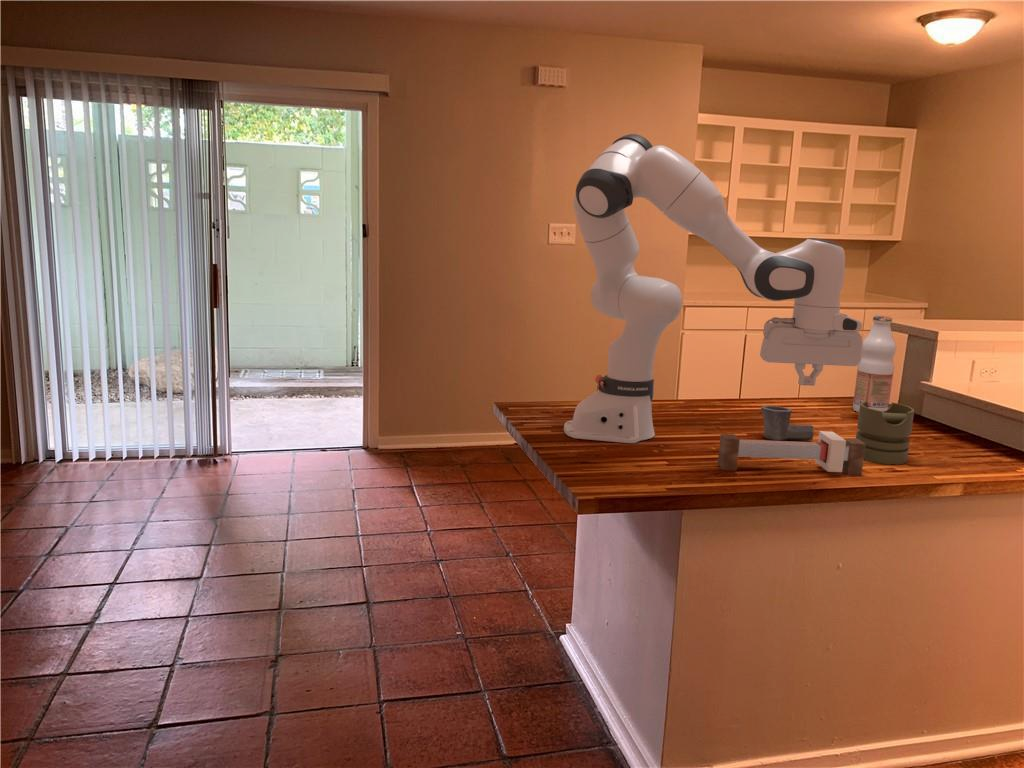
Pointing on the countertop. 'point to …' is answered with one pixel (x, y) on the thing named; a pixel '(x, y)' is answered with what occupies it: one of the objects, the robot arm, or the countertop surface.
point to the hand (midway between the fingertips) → (806, 384)
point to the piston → (885, 433)
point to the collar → (832, 451)
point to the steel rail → (786, 449)
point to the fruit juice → (876, 366)
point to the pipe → (783, 425)
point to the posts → (731, 448)
